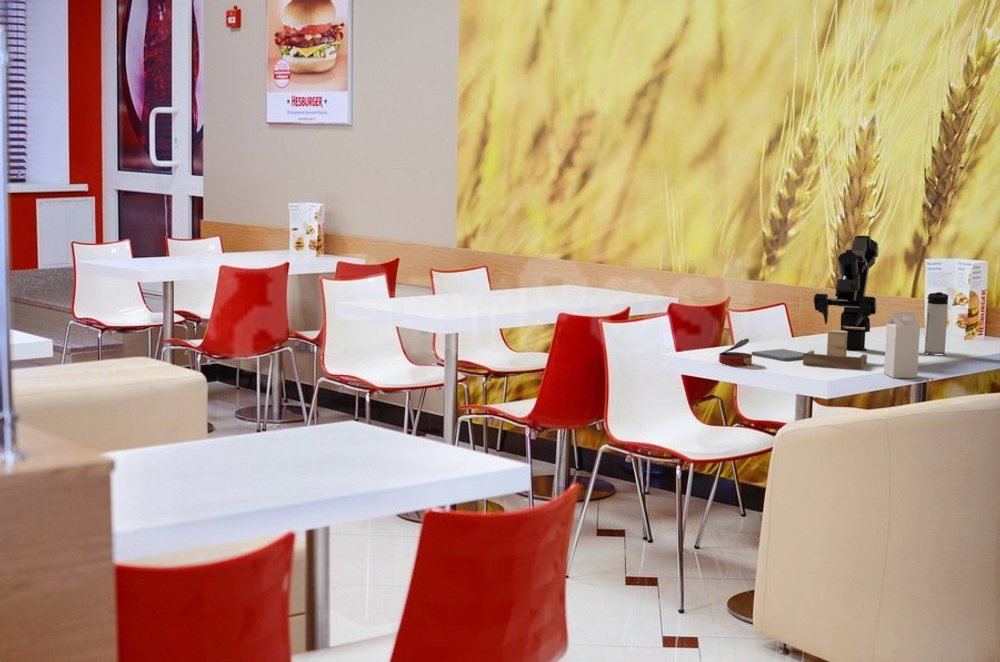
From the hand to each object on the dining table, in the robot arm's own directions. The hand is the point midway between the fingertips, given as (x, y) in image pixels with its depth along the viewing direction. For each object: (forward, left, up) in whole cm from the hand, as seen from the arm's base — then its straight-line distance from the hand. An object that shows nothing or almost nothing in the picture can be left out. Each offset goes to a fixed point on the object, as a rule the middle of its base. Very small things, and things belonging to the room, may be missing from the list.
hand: (840, 324), depth 397 cm
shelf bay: (+4, +6, -12) cm, 13 cm away
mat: (+14, -10, -12) cm, 21 cm away
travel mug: (-39, -14, -12) cm, 43 cm away
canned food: (+34, +3, -12) cm, 37 cm away
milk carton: (-8, +27, -12) cm, 31 cm away
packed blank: (+2, +4, -12) cm, 13 cm away
